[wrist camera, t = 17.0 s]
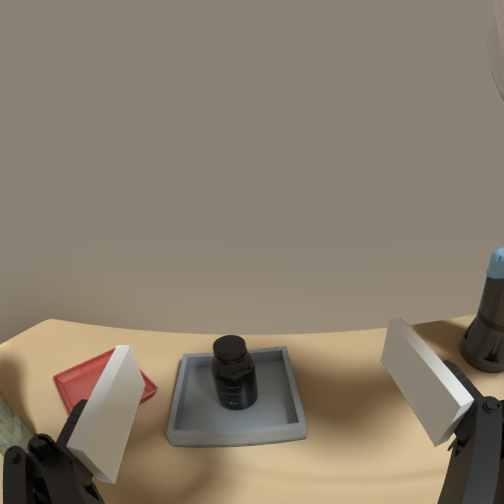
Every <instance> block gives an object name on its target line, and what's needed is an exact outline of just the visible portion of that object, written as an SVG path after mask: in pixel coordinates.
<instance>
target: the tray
mask: <svg viewBox="0 0 504 504" xmlns="http://www.w3.org/2000/svg"><path fill="white" fill-rule="evenodd" d="M247 351H248V352H249V353H250V354H251V355H252V356H253V358H254V362H255V370H256V379H257V387H258V398H257V400H256V402H255V403H254V404H253V405H252V406H251V407H249V408H247V409H244V410H237V411H236V410H230V409H227V408H225V407H224V406H222V405H221V403H220V402H219V399H218V396H217V392H216V388H215V384H214V380H213V376H212V372H211V368H210V362H211V359H212V358H213V356H214V353H198V354H183V358H182V362H181V367H180V371H179V375H178V380H177V384H176V389H175V393H174V398H173V403H172V407H171V412H170V417H169V422H168V427H167V432H166V435H167V437H168V439H169V441H170V443H171V445H172V446H174V447H239V446H253V445H265V444H274V443H282V442H289V441H296V440H303V439H306V435H307V423H306V419H305V415H304V411H303V408H302V404H301V400H300V396H299V393H298V389H297V385H296V381H295V378H294V374H293V370H292V366H291V363H290V359H289V355H288V352H287V348H286V346H284V347H275V348H266V349H256V350H247Z"/></svg>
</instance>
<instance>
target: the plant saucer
mask: <svg viewBox="0 0 504 504" xmlns="http://www.w3.org/2000/svg"><path fill="white" fill-rule="evenodd" d="M115 349H116V348H114V349H112V350H110V351H108V352H105V353H103V354H101V355H99V356H97V357H94V358H92V359H90V360H88V361H86V362H83V363H81V364H79V365H77V366H74V367H72V368H70V369H68V370H66V371H63V372H61V373H59V374H57V375H55V376H53V381H54V384H55V386H56V389H57V392H58V394H59V396H60V399H61V401H62V404H63V406H64V408H65V410H66V413H67V415H68V417H69V416H70V413H71V411H72V409H73V408H74V406H75V405H76V404H77V403H78V402H79V401H80V400H81V399H86V400H89V398H90V396H91V394H92V392H93V390H94V388H95V386H96V384H97V382H98V380H99V378H100V376H101V375H102V373H103V371H104V369H105V367H106V365H107V363H108V362H109V360H110V358H111V356H112V354H113V353H114V351H115ZM139 370H140V369H139ZM140 372H141V375H142V377H143V380H144V382H145V388H144V391H143V394H142V397H141V400H140V403H139V404H141V403H143V402H145V401H147V400H148V399H150V398H151V397H152V396H153V395H154V394H155V393H156V391H157V390H158V386H157V385H156V384H155V383H154V382H153V381H151V380H150V379H149V378H148V377H147V376H146V375H145V374H144V373H143V372H142V371H141V370H140Z"/></svg>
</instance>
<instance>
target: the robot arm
mask: <svg viewBox="0 0 504 504" xmlns="http://www.w3.org/2000/svg"><path fill="white" fill-rule="evenodd" d="M492 1H493V5H494V10H495V15H496V18H495V19H494V21H493V23H492V25H491V27H490V30H489V35H488V44H487V46H488V59H489V63H490V67H491V71H492V75H493V78H494V81H495V83H496V85H497V88H498V90H499V93H500V94H501V96H502V98H503V100H504V0H492ZM486 274H487V278H486V282H485V287H484V291H483V295H482V298H481V302H480V305H479V309H478V313H477V315H476V317H475V318H474V320H473V321H472V323H471V324H470V326H469V327H468V329H467V330H466V331H465V333H464V335H463V338H462V341H461V344H460V350H461V353H462V355H463V357H464V358H465V359H466V361H467V362H468V363H470V364H471V365H472V366H474V367H475V368H477V369H479V370H482V371H485V372H492V373H496V372H501V371H504V247H502V248H499V249H497V250H495V251H494V252H493V254H492V255H491V259H490V263H489V268H488V270H487V273H486ZM381 362H382V363H383V365H384V366H385V368H386V369H387V371H388V372H389V374H390V375H391V377H392V378H393V380H394V381H395V383H396V384H397V386H398V388H399V389H400V391H401V392H402V394H403V395H404V397H405V398H406V400H407V402H408V403H409V405H410V406H411V408H412V410H413V411H414V413H415V414H416V416H417V418H418V419H419V421H420V422H421V424H422V426H423V427H424V429H425V431H426V432H427V434H428V436H429V437H430V439H431V441H432V442H433V444H434V446H435V447H436V446H438V445H440V444H442V443H444V442H446V441H448V440H449V438H450V437H451V436H452V434H453V433H455V435H456V436H457V437H456V438H455V439H454V441H453V442H452V443H451V445H450V446H449V448H448V450H447V451H450V449H451V448H452V447H453V449H452V454H451V458H450V462H449V466H448V470H447V474H446V478H445V481H444V484H443V488H442V491H441V494H440V497H439V500H438V503H437V504H504V400H501V401H499V400H498V399H496V398H495V397H491V396H486V397H484V396H483V395H482V394H481V393H480V392H479V391H478V390H477V388H476V387H475V386H474V385H473V384H472V383H471V382H470V380H469V379H468V378H466V376H465V375H464V374H463V373H461V370H460V369H459V368H458V367H457V366H456V365H455V364H453V363H452V362H450V361H448V360H445V361H441V360H440V359H439V358H438V357H437V355H436V354H435V353H434V352H433V351H432V350H431V349H430V348H429V347H428V345H427V344H426V343H425V342H424V341H423V340H422V339H421V338H420V337H419V336H418V335H417V334H416V333H415V331H414V330H413V329H412V328H411V327H410V326H409V325H408V324H407V323H406V322H405V321H404V320H403V319H402V318H396V319H392V320H389V324H388V329H387V334H386V339H385V344H384V349H383V353H382V358H381ZM144 388H145V382H144V380H143V377H142V375H141V372H140V370H139V367H138V365H137V362H136V359H135V357H134V354H133V351H132V348H131V346H122V345H117V347H116V349H115V351H114V353H113V354H112V356H111V358H110V360H109V362H108V363H107V365H106V367H105V369H104V371H103V373H102V375H101V376H100V378H99V380H98V382H97V384H96V386H95V388H94V390H93V392H92V394H91V396H90V398H89V400H86V399H81V400H80V401H79V402H78V403H77V404H76V405H75V406H74V408H73V409H72V411H71V413H70V416H69V417H68V419H67V422H66V423H65V425H64V427H63V429H62V431H61V433H60V435H59V437H58V439H57V442H56V443H55V442H54V440H53V439H52V438H51V437H50V436H48V435H47V434H37V435H35V436H33V437H32V438H31V439H30V440H29V443H28V445H27V450H28V451H29V452H30V453H26V451H25V450H24V449H23V448H21V447H20V446H16V445H15V446H11V447H10V448H8V449H7V450H6V452H5V455H4V464H3V504H105V503H104V501H103V499H102V497H101V496H100V494H99V492H98V490H97V488H96V486H95V484H94V483H93V482H92V477H93V475H94V476H95V477H96V478H97V479H98V480H99V481H101V482H105V483H110V484H114V485H115V483H116V480H117V476H118V472H119V468H120V465H121V461H122V458H123V454H124V451H125V448H126V444H127V441H128V438H129V434H130V431H131V428H132V425H133V421H134V418H135V415H136V412H137V409H138V406H139V403H140V400H141V397H142V394H143V391H144Z"/></svg>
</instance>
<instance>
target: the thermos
mask: <svg viewBox="0 0 504 504" xmlns="http://www.w3.org/2000/svg"><path fill="white" fill-rule="evenodd" d="M33 436H35V435H34V434H33V433H32V431H31V429H30V428H29V427H28V426H27V424H26V423H25V422H24V420H23V419H22V418H21V416H19V415H18V414H17V413H15V412H14V411H13V410H12V408H11V407H10V405H9V404H8V403H7V401H6V400H5V398H4V397H3V395H2V394H1V392H0V453H1V454H2V455H3V456H4V455H5V452H6V450H7V449H8V448H10V447H11V446H15V445H16V446H20V447H21V448H23V449H24V450H25V451H26V453H30V452H29V451H28V450H27V445H28V443H29V440H30V439H31V438H32V437H33Z"/></svg>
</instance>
